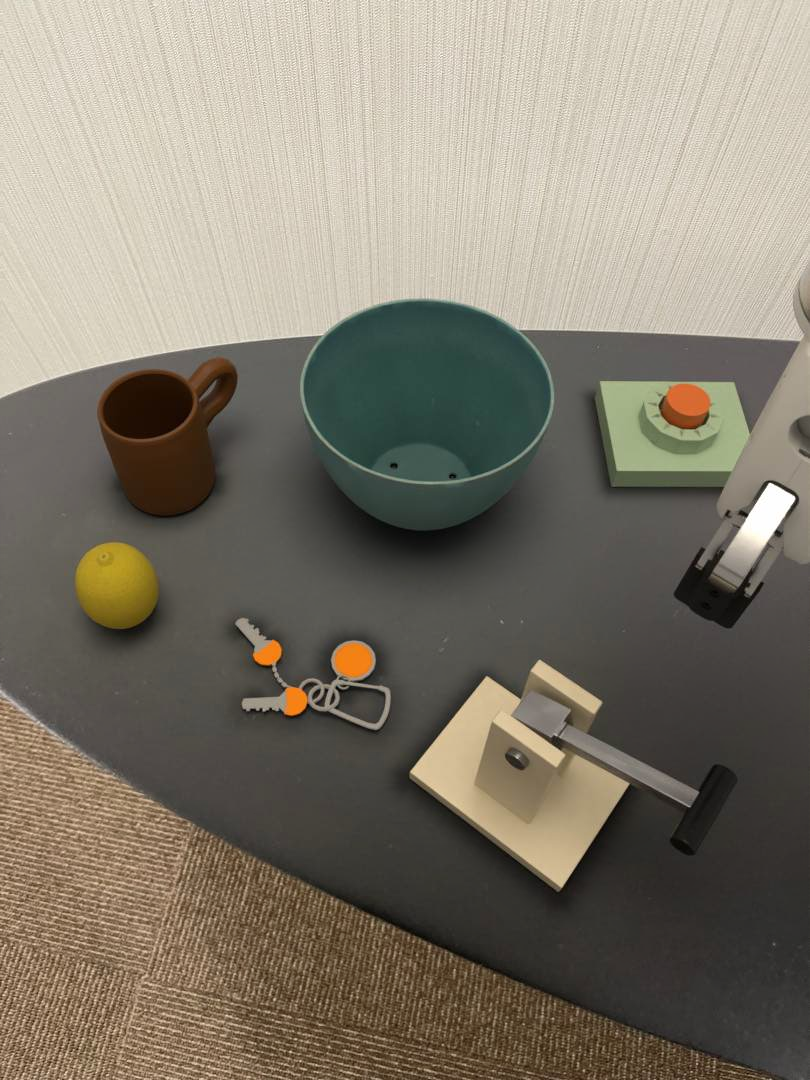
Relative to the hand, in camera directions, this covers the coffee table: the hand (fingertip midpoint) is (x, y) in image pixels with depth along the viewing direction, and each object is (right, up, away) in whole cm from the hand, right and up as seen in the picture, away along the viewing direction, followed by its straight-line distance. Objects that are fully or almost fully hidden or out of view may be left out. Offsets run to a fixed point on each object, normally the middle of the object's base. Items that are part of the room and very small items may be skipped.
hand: (743, 544), depth 47 cm
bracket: (-10, -16, +14) cm, 24 cm away
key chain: (-25, -10, +18) cm, 32 cm away
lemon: (-38, -5, +20) cm, 44 cm away
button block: (+5, +9, +31) cm, 33 cm away
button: (+5, +11, +28) cm, 31 cm away
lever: (-6, -13, +4) cm, 15 cm away
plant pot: (-17, +5, +28) cm, 33 cm away
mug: (-36, +6, +28) cm, 46 cm away
